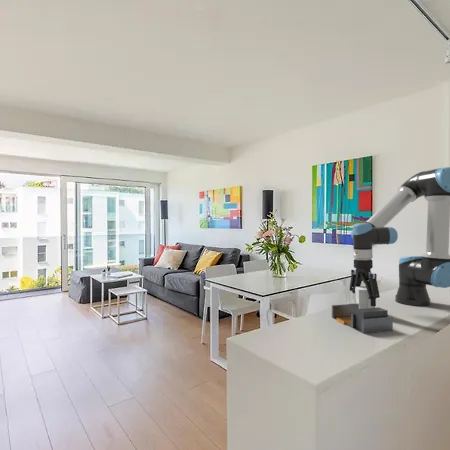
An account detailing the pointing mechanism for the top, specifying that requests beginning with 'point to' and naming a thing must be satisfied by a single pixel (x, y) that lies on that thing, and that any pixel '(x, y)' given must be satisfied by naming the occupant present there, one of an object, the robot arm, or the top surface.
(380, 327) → the rack
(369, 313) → the dark grey box
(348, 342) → the top surface
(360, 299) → the small box
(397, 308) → the top surface
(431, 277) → the robot arm
